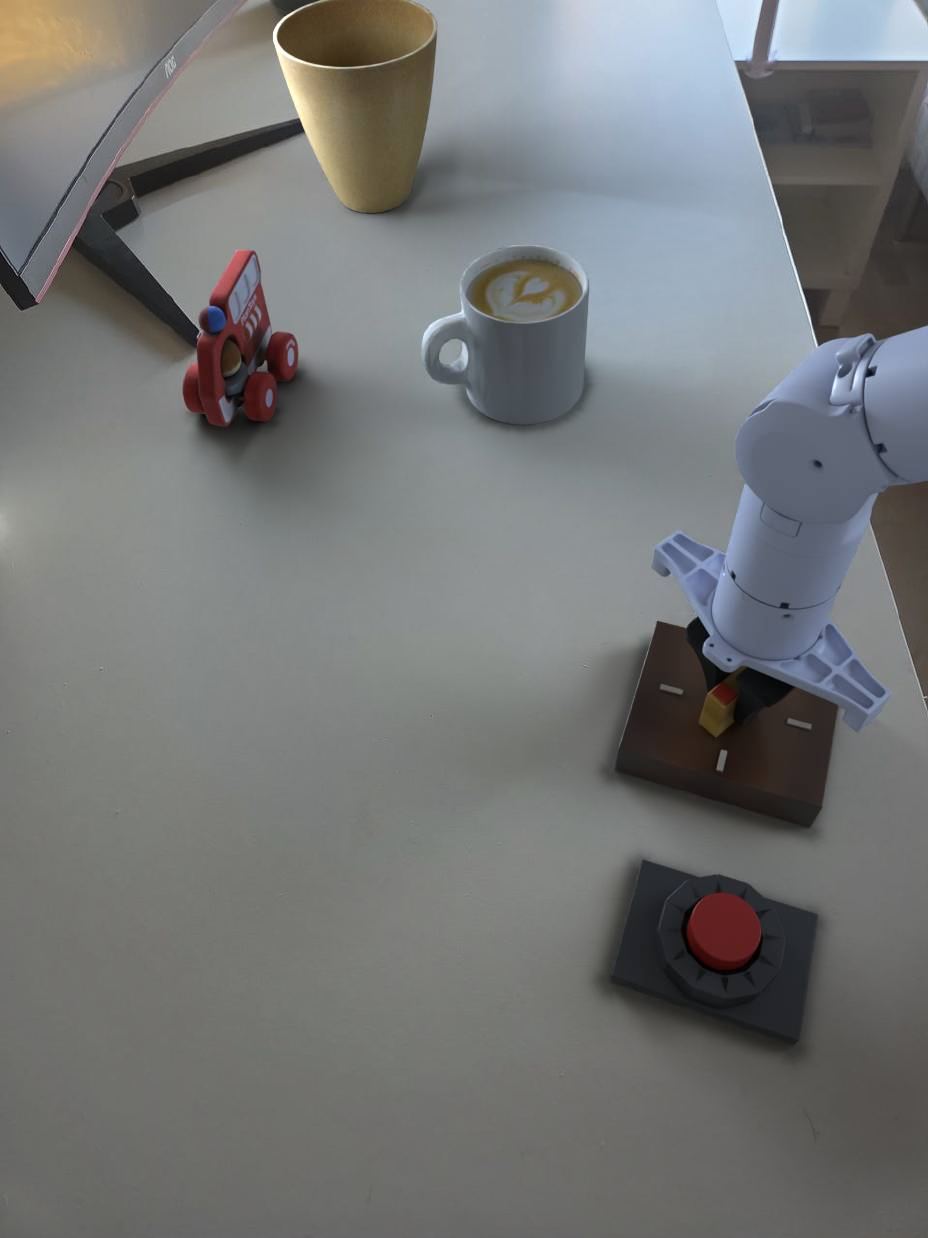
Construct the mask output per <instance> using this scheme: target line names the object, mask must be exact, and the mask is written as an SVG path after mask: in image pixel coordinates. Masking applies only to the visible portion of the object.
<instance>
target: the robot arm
mask: <svg viewBox="0 0 928 1238" xmlns="http://www.w3.org/2000/svg"><path fill="white" fill-rule="evenodd" d="M734 457H735V462H736V467H737V468H738V471H739V473H740V476H741V477H742V479H743V481H744V483H745V484H744V486H743V488H742V492H741V495H740V500H739V504H738V507H737V511H736V515H735V519H734V523H733V525H732V530H731V534H730V537H729V541H728V545H727V549H726V552H724V551H721V550H718V549H716V548H713V547H712V546H709V545H706V544H703V542H700V541H697V540H696V539H693V538H692V537H690V536H689V535H687V534H686V533H685V532H683V531H681V530H680V529H677V530H675V531H674V532H673V533H671V534H670V535H669V536H668V537H666V538H665V539H663V540H662V541H661V542H659V543H658V544H656V545H655V546H654V549H653V553H652V554H653V555H652V560H651V569H652V570H653V571H654V572H656V573H657V574H658V575H659V576H660V577H663V578H666V577H668V576H670V575H672V577H673V578H674V580H675V582H676V583H677V584H678V587H679V588H680V590H681V591H682V592H683V595H684V596H685V598H686V599H687V601H688V602H689V604H690V606H691V607H692V609H693V611H694V612H695V614H696V615H697V616H696V617H694V619H692V620H691V621H690V622H689V623H688V624H687V626H686V627H685V628H686V632H685V639H686V641H687V642H688V643H689V644H690V645H691V647H692V648H693V650H694V651H695V653H696V655H697V657H698V659H699V661H700V663H701V666H702V668H703V672H704V676H705V680H706V685H707V691H708V693H709V692H710V691H711V690H712V689H714V688H715V687H716V686H717V685H718V684H719V683H721V682H722V681H723V680H724V679H725V678H727V677H728V676H729V675H730V674H731V673H733V672H734V671H735V670H736V669H738V668H739V667H740V666H747V667H746V668H745V669H744V670H743V671H742V672H740V673H739V674H738V675H737V676H736V679H735V680H736V681H737V683H738V686H739V699H738V702H737V704H736V707H735V709H734V715H733V719H734V721H735V722H736V723H738V724H739V725H740V726H744V725H745V724H746V723H747V722H748V721H750V720H751V719H752V718H753V717H754V716H755V715H757V714H758V713H759V712H760V711H761V710H762V709H763V708H764V707H771V706H772V705H774V704H776V703H778V702H779V701H781V700H782V699H783V698H784V697H786V696H787V695H788V694H789V693H790V692H791V691H793V690H794V689H795V688H796V687H797V688H800V689H802V690H805V691H807V692H809V693H812V694H814V695H816V696H819V697H821V698H824V699H826V700H828V701H831V702H833V703H835V704H837V705H839V707H841V708H842V709H843V710H844V713H843V716H842V722H843V723H844V724H845V725H846V726H848V727H849V728H850V730H853V732H855V733H860V732H861V731H862V730H863V729H864V728H865V727H866V726H868V725H869V724H870V723H871V722H872V721H873V720H874V719H875V718H877V716H879V715H880V713H882V711H883V709H884V707H886V704H888V703H887V702H888V701H889V700H890V698H891V696H892V694H893V692H892V691H891V690H890V689H889V688H888V687H887V686H885V685H884V684H882V682H881V681H880V680H879V679H877V678H876V677H875V676H874V675H873V674H872V672H871V671H870V670H869V668H868V667H866V665H865V663H864V662H863V660H862V659H861V658H860V656H859V655H858V653H857V652H856V651H855V650H854V648H853V647H852V645H851V644H850V643H849V641H848V640H847V639H846V637H845V635H844V634H843V633H842V632H841V630H840V629H839V628H838V626H837V625H836V623H835V621H834V620H833V619H832V618H831V616H830V612H831V609H832V608H833V605H834V603H835V601H836V598H837V596H838V594H839V592H840V589H841V587H842V585H843V583H844V581H845V578H846V575H847V574H848V571H849V569H850V566H851V564H852V562H853V559H854V558H855V555H856V553H857V550H858V548H859V546H860V544H861V542H862V540H863V537H864V535H865V533H866V531H867V528H868V526H869V523H870V520H871V517H872V511H873V507H874V504H875V502H876V500H877V498H878V496H879V493H884V492H885V491H886V490H887V489H888V488H889V487H892V486H905V485H911V484H917V483H918V484H919V483H922V482H928V325H925V326H922V327H919V328H915V329H912V330H909V331H906V332H903V333H899V334H896V335H893V336H890V337H886V338H883V339H879V340H876V338H875V336H874V335H873V334H872V333H870V332H868V333H863V334H861V335H858V336H855V337H841V338H835V339H831V340H828V341H826V342H823V343H822V344H820V345H819V346H816V348H814V349H813V350H812V351H811V352H810V353H809V354H808V355H807V356H806V357H804V359H802V360H801V362H800V363H799V364H798V365H797V366H796V367H795V368H793V370H792V371H791V372H790V373H789V374H787V376H786V377H785V378H784V379H783V380H781V382H779V384H778V385H776V387H775V388H774V389H773V390H772V391H771V392H769V394H768V395H767V396H765V398H764V399H763V400H761V402H760V403H758V404H757V406H755V407H754V408H753V409H752V411H750V413H749V414H748V416H747V418H746V419H745V420H744V421H743V423H742V424H741V425H740V426H739V428H738V431H737V432H736V436H735V439H734Z"/></svg>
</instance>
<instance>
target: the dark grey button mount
mask: <svg viewBox="0 0 928 1238" xmlns="http://www.w3.org/2000/svg"><path fill="white" fill-rule="evenodd" d="M715 893H727V894H731V895H734V896H737V897H739V898H741V899H742V900H744V901H745V902H746V903H748V904H749V905H750V906H751V907H752V909H753V910H754V911H755V913H756V915H757V917H758V919H759V922H760V926H761V939H760V942H759V945H758V947H757V948H756V950H755V952H754V953H753V955H752V956H751V958H750V959H749V960H748V962H747V963H745V964H744V965H743V966H741V967H739V968H737V969H734V970H728V971H723V970H717V969H714V968H711V967H709V966H707V965H705V964H704V963H702V962H701V961H700V960H699V959H698V958H697V957H696V956H695V955H694V953H693V952H692V950H691V948H690V946H689V943H688V940H687V925H688V921H689V919H690V917H691V914H692V912H693V910H694V908H695V906H696V905H697V903H698V902H699V901H700V900H702V899H703V898H705V897H706V896H708V895H711V894H715ZM627 910H628V911H627V913H626V917H625V921H624V925H623V928H622V932H621V936H620V940H619V944H618V947H617V950H616V954H615V959H614V962H613V966H612V968H611V969H612V970H611V973H610V978H609V982H610V983H613V984H615V985H617V986H621V987H624V988H626V989H630V990H633V991H635V992H638V993H641V994H644V995H647V996H650V997H653V998H656V999H659V1000H662V1001H665V1002H667V1003H670V1004H673V1005H676V1006H679V1007H682V1008H684V1009H688V1010H691V1011H693V1012H697V1013H699V1014H701V1015H704V1016H707V1017H710V1018H714V1019H716V1020H719V1021H722V1022H725V1023H727V1024H730V1025H734V1026H737V1027H739V1028H742V1029H745V1030H748V1031H750V1032H754V1033H757V1034H759V1035H762V1036H765V1037H768V1038H771V1039H774V1040H777V1041H779V1042H782V1043H784V1044H785V1043H786V1044H788V1045H791V1046H796V1044H798V1042H799V1041H800V1040H801V1033H802V1027H803V1026H802V1025H803V1019H804V1015H805V1014H804V1013H805V1006H806V1001H807V994H808V988H809V982H810V981H809V980H810V973H811V967H812V962H813V953H814V948H815V940H816V935H817V929H818V922H819V921H818V920H819V914H818V913H815V912H812V911H809V910H805V909H803V908H799V907H797V906H793V905H790V904H786V903H783V902H780V901H778V900H774V899H771V898H768V897H765V896H763V895H762V894H761V893H760V892H759V891H758V890H757V889H756V888H755V887H753V886H752V885H751V883H748V882H746V881H742V880H739V879H735V878H732V877H729V876H726V875H723V874H720V873H718V874H717V873H714V874H710V875H704V876H697V875H695V874H691V873H689V872H685V871H681V870H678V869H675V868H672V867H669V866H666V865H662V864H659V863H657V862H653V861H650V860H646V859H643V858H642V859H641V861H640V864H639V868H638V872H637V876H636V880H635V883H634V886H633V891H632V894H631V899H630V902H629V905H628V909H627Z"/></svg>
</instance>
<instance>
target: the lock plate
mask: <svg viewBox="0 0 928 1238" xmlns="http://www.w3.org/2000/svg"><path fill="white" fill-rule="evenodd" d="M686 628H687V627H685V626H680V625H677V624H672V623H668V622H665V621H661V620H656V621H655V625H654V628H653V632H652V636H651V638H650V642H649V645H648V648H647V652H646V655H645V658H644V662H643V665H642V668H641V672H640V675H639V678H638V681H637V684H636V688H635V691H634V694H633V698H632V701H631V706H630V708H629V712H628V715H627V718H626V722H625V724H624V728H623V731H622V734H621V737H620V742H619V745H618V748H617V754H616V759H615V760H616V761H615V765H614V772H617V773H620V774H624V775H627V776H631V777H634V778H637V779H640V780H644V781H646V782H647V781H648V782H651V783H654V784H658V785H660V786H664V787H668V788H671V789H674V790H677V791H681V792H684V793H687V794H688V793H689V794H691V795H695V796H698V797H700V798H705V799H708V800H712V801H714V802H715V801H716V802H719V803H722V804H726V805H729V806H733V807H736V808H739V809H743V810H745V811H749V812H752V813H756V814H759V815H763V816H766V817H769V818H773V819H777V820H780V821H783V822H786V823H790V824H793V825H798V826H800V827H804V828H808V829H811V828H812V826H813V824H814V823H815V821H816V819H817V818H818V816H819V814H820V813H821V811H822V809H823V807H824V802H825V795H826V789H827V784H828V783H827V782H828V777H829V772H830V771H829V770H830V765H831V757H832V753H833V746H834V739H835V732H836V728H837V720H838V715H839V709H840V708H839V707H840V706H839V705H837V704H835V703H833V702H831V701H828V700H826V699H824V698H821V697H819V696H816V695H814V694H812V693H809V692H807V691H805V690H802V689H800V688H797V687H796V688H795V689H794V690H793V691H791V692H790V693H789V694H788V695H787V696H786V697H784V698H783V699H782V700H781V701H779V702H778V703H776V704H774V705H772V706H771V707H764V708H763V709H762V710H761V711H760V712H759V713H758V714H757V715H755V716H754V717H753V718H752V719H751V720H750V721H748V722H747V723H746V724H745V725H744V726H740V725H739V724H738V723H736V722H735V721H734V722H733V723H732V724H731V725H730V726H729V727H727V728H726V729H725V730H724V731H723V732H722V733H721V734H719V735H718V736H717V737H714V736H713V735H712V734H711V733H710V732H708V731H707V730H706V729H705V728H704V727H703V726H701V725H700V724H699V720H700V717H701V714H702V710H703V707H704V704H705V700H706V697H707V694H708V691H707V685H706V680H705V676H704V672H703V668H702V666H701V663H700V661H699V659H698V657H697V655H696V653H695V651H694V650H693V648H692V647H691V645H690V644H689V643H688V642H687V641H686V639H685V632H686Z"/></svg>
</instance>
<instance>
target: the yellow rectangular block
mask: <svg viewBox="0 0 928 1238" xmlns="http://www.w3.org/2000/svg"><path fill="white" fill-rule="evenodd" d="M746 667H747V666H740V667H739V668H738V669H736V670H735V671H734V672H733V673H731V674H730V675H729V676H728V677H727V678H725V679H724V680H723V681H722V682H721V683H719V684H718V685H717V686H716V687H715V688H714V689H712V690H711V691H710V692H709V693H708V694H707V697H706V700H705V704H704V707H703V710H702V714H701V717H700V720H699V724H700V725H701V726H703V727H704V728H705V729H706V730H707V731H708V732H710V733H711V734H712V735H713V736H714V737H717V736H718V735H719V734H721V733H722V732H723V731H724V730H725V729H726V728H727V727H729V726H730V725H731V724H732V723H733V722H734V719H733V715H734V709H735V707H736V704H737V702H738V699H739V686H738V683H737V681H736V680H735V679H736V676H737V675H738V674H739V673H740V672H742V671H743V670H744V669H745V668H746Z"/></svg>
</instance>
